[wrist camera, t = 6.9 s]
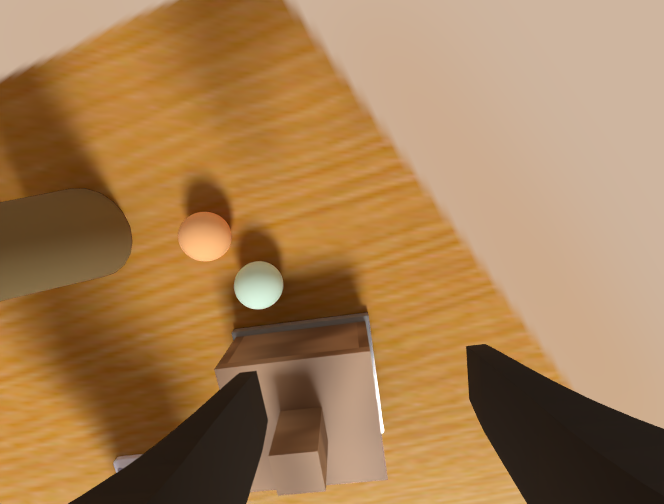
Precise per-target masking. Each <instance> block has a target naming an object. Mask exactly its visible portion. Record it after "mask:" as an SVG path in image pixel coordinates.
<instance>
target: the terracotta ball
mask: <svg viewBox="0 0 664 504" xmlns="http://www.w3.org/2000/svg"><path fill="white" fill-rule="evenodd" d="M231 239H232V234H231V230H230V227H229V225H228V224H227V222H226V221H225V220H224V219H223V218H222V217H220V216H219V215H217V214H214V213H211V212H198V213H195V214H192V215H190V216H189V217H187V218H186V219H185V220H184V221H183V223H182V224H181V226H180V228H179V232H178V240H179V244H180V246H181V248H182V250H183V251H184V252H185V253H186V254H187V255H188V256H189V257H191V258H193V259H195V260H199V261H212V260H215V259H218V258H220V257H221V256H222V255H224V254H225V253H226V251H227V250H228V248H229V247H230V244H231Z"/></svg>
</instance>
